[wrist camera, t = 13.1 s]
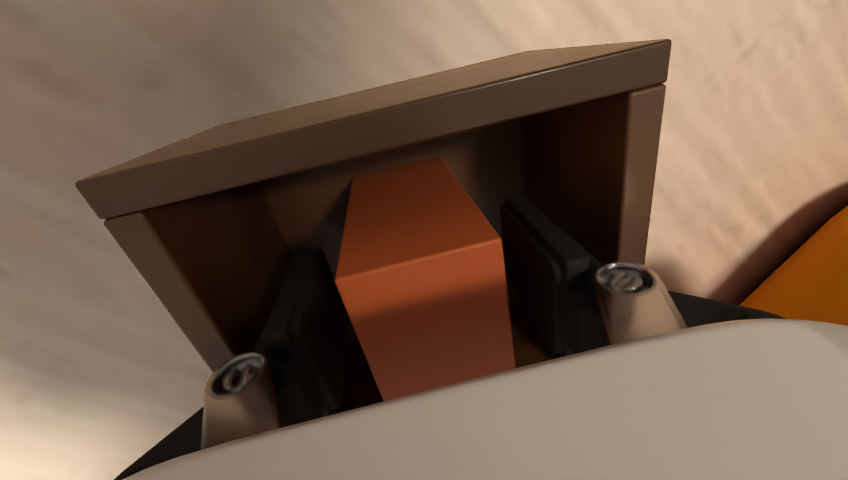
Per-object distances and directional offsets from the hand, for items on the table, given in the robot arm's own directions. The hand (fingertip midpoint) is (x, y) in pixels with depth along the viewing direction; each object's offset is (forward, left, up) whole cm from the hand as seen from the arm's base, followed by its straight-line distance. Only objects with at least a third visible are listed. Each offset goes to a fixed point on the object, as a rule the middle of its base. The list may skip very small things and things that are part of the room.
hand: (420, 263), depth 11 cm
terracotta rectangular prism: (+1, 0, -3) cm, 3 cm away
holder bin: (+1, 0, -4) cm, 4 cm away
